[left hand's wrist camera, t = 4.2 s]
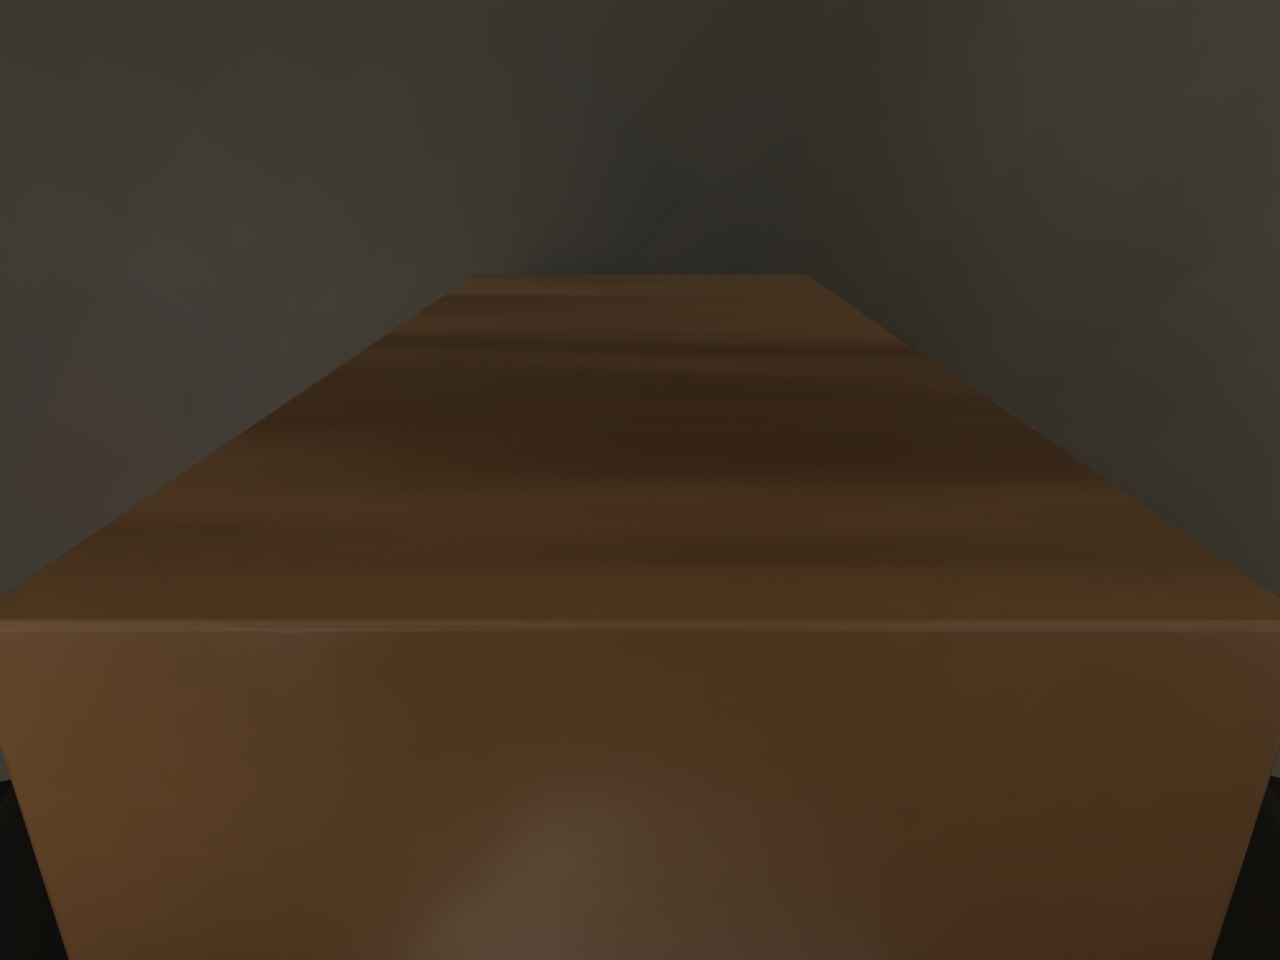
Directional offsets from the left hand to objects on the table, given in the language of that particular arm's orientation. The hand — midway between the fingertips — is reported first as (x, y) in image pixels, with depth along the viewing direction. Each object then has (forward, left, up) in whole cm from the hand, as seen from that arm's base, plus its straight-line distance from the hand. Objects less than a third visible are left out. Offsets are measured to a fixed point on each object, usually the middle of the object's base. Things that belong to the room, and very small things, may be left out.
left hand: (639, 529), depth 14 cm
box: (+6, +3, -3) cm, 7 cm away
